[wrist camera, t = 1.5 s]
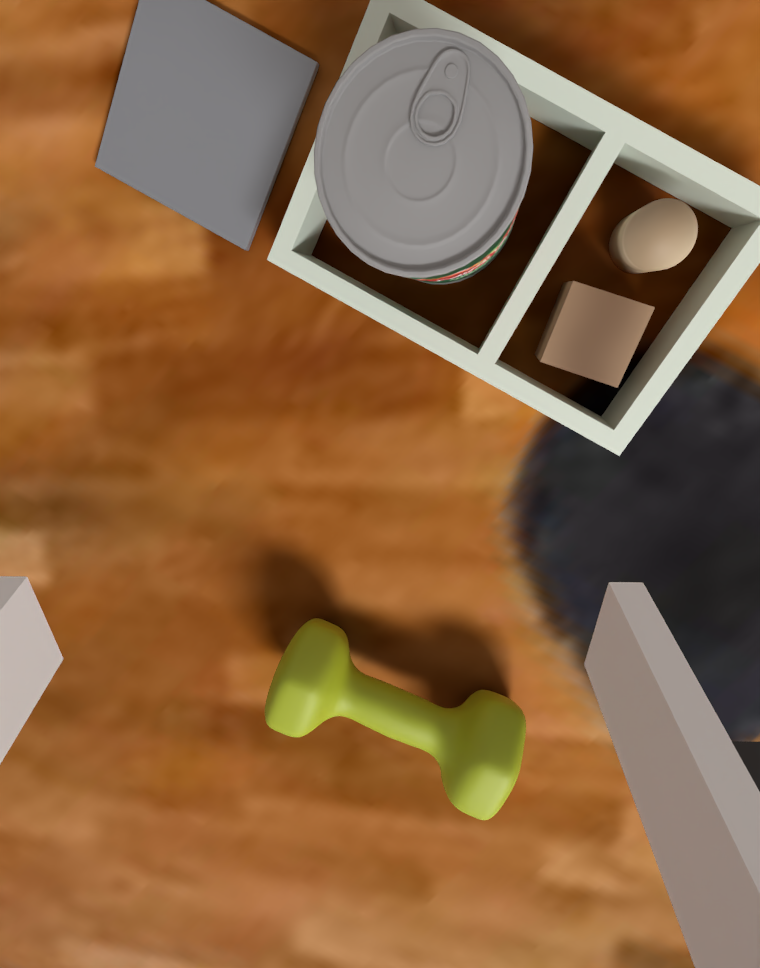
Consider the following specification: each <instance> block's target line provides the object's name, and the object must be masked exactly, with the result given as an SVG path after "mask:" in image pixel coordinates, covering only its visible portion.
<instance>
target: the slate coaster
mask: <svg viewBox="0 0 760 968" xmlns="http://www.w3.org/2000/svg"><path fill="white" fill-rule="evenodd" d="M319 66H320V65H319V64H318V62H316V61H314V60H312V59H311V58H309V57H307V56H305V55H303V54H302V53H300V52H298V51H296V50H294V49H292V48H291V47H289V46H287V45H285V44H283V43H282V42H280V41H278V40H276V39H274V38H273V37H271V36H269V35H267V34H265V33H264V32H262V31H260V30H258V29H256V28H255V27H253V26H251V25H249V24H247V23H246V22H244V21H242V20H240V19H238V18H237V17H235V16H233V15H231V14H229V13H228V12H226V11H224V10H222V9H220V8H218V7H217V6H215V5H213V4H211V3H209V2H208V1H206V0H139V3H138V7H137V10H136V14H135V18H134V22H133V25H132V29H131V33H130V37H129V40H128V44H127V48H126V52H125V55H124V59H123V63H122V67H121V70H120V74H119V78H118V82H117V85H116V89H115V93H114V97H113V100H112V104H111V108H110V112H109V115H108V119H107V123H106V127H105V130H104V134H103V138H102V142H101V145H100V149H99V153H98V157H97V160H96V164H95V167H97V168H99V169H101V170H102V171H104V172H106V173H108V174H110V175H111V176H113V177H115V178H117V179H119V180H120V181H122V182H124V183H126V184H128V185H129V186H131V187H133V188H135V189H137V190H138V191H140V192H142V193H144V194H145V195H147V196H149V197H151V198H153V199H154V200H156V201H158V202H160V203H162V204H163V205H165V206H167V207H169V208H171V209H172V210H174V211H176V212H178V213H180V214H181V215H183V216H185V217H187V218H189V219H190V220H192V221H194V222H196V223H198V224H199V225H201V226H203V227H205V228H207V229H208V230H210V231H212V232H214V233H216V234H217V235H219V236H221V237H223V238H225V239H226V240H228V241H230V242H232V243H233V244H235V245H237V246H239V247H241V248H242V249H244V250H247V251H249V248H250V246H251V243H252V240H253V238H254V235H255V233H256V230H257V227H258V225H259V222H260V220H261V217H262V214H263V212H264V209H265V206H266V204H267V201H268V199H269V196H270V193H271V191H272V188H273V186H274V183H275V180H276V178H277V175H278V173H279V170H280V167H281V165H282V162H283V159H284V157H285V154H286V152H287V149H288V146H289V144H290V141H291V139H292V136H293V133H294V131H295V128H296V126H297V123H298V120H299V118H300V115H301V113H302V110H303V107H304V105H305V102H306V99H307V97H308V94H309V92H310V89H311V86H312V84H313V81H314V79H315V76H316V73H317V71H318V68H319Z"/></svg>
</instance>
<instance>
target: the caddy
mask: <svg viewBox="0 0 760 968" xmlns="http://www.w3.org/2000/svg"><path fill="white" fill-rule="evenodd" d="M424 28H440V29H445V30H450V31H456V32H460V33H462V34H464V35H466V36H468V37H471V38H473V39H475V40H477V41H479V42H481V43H482V44H483V45H485V46H486V47H487V48H488V49H490V50H491V51H492V52H493V53H495V54H496V55H497V56H498V57H499V58H500V59H501V60H502V62H503V63H504V64H505V65H506V67H507V68H508V69H509V70H510V71H511V73H512V74H513V75H514V77H515V79H516V81H517V83H518V85H519V87H520V89H521V91H522V93H523V95H524V97H525V101H526V105H527V108H528V112H529V116H530V117H532V118H533V119H535V120H537V121H539V122H541V123H542V124H544V125H546V126H548V127H550V128H552V129H553V130H555V131H557V132H559V133H561V134H562V135H564V136H566V137H568V138H570V139H571V140H573V141H575V142H577V143H579V144H580V145H582V146H584V147H586V148H588V149H589V150H591V151H592V152H591V154H590V155H589V157H588V159H587V161H586V162H585V164H584V166H583V168H582V169H581V171H580V173H579V175H578V176H577V178H576V180H575V182H574V183H573V185H572V187H571V189H570V190H569V192H568V194H567V196H566V197H565V199H564V201H563V203H562V204H561V206H560V208H559V210H558V211H557V213H556V215H555V217H554V218H553V220H552V222H551V224H550V225H549V227H548V229H547V231H546V232H545V234H544V236H543V238H542V239H541V241H540V243H539V245H538V246H537V248H536V250H535V252H534V253H533V255H532V257H531V259H530V260H529V262H528V264H527V266H526V267H525V269H524V271H523V273H522V274H521V276H520V278H519V280H518V281H517V283H516V285H515V287H514V288H513V290H512V292H511V293H510V295H509V297H508V299H507V300H506V302H505V304H504V306H503V307H502V309H501V311H500V313H499V314H498V316H497V318H496V320H495V321H494V323H493V325H492V327H491V328H490V330H489V332H488V334H487V335H486V337H485V339H484V341H483V342H482V344H481V346H480V348H477V347H475V346H474V345H472V344H470V343H468V342H466V341H465V340H463V339H461V338H459V337H457V336H456V335H454V334H452V333H450V332H448V331H447V330H445V329H443V328H441V327H439V326H438V325H436V324H434V323H432V322H430V321H429V320H427V319H425V318H423V317H421V316H420V315H418V314H416V313H414V312H412V311H411V310H409V309H407V308H405V307H403V306H402V305H400V304H398V303H396V302H395V301H393V300H391V299H389V298H387V297H386V296H384V295H382V294H380V293H378V292H377V291H375V290H373V289H371V288H369V287H368V286H366V285H364V284H362V283H360V282H359V281H357V280H355V279H353V278H351V277H350V276H348V275H346V274H344V273H342V272H341V271H339V270H337V269H335V268H333V267H332V266H330V265H328V264H326V263H324V262H323V261H321V260H319V259H317V258H315V257H314V256H312V253H313V250H314V248H315V245H316V243H317V241H318V238H319V236H320V234H321V231H322V229H323V227H324V224H325V222H326V220H327V218H326V216H325V213H324V210H323V207H322V205H321V202H320V199H319V197H318V192H317V186H316V181H315V175H314V146H315V141H314V143H313V146H312V148H311V151H310V153H309V156H308V158H307V161H306V163H305V166H304V168H303V171H302V173H301V176H300V178H299V181H298V183H297V186H296V188H295V191H294V194H293V196H292V199H291V201H290V204H289V206H288V209H287V211H286V214H285V216H284V219H283V221H282V224H281V226H280V229H279V231H278V234H277V236H276V239H275V241H274V244H273V246H272V249H271V251H270V254H269V256H268V259H267V260H268V261H270V262H272V263H274V264H276V265H277V266H279V267H281V268H283V269H284V270H286V271H288V272H290V273H292V274H293V275H295V276H297V277H299V278H301V279H302V280H304V281H306V282H308V283H310V284H311V285H313V286H315V287H317V288H319V289H320V290H322V291H324V292H326V293H328V294H329V295H331V296H333V297H335V298H337V299H338V300H340V301H342V302H344V303H346V304H347V305H349V306H351V307H353V308H355V309H356V310H358V311H360V312H362V313H364V314H365V315H367V316H369V317H371V318H372V319H374V320H376V321H378V322H380V323H381V324H383V325H385V326H387V327H389V328H390V329H392V330H394V331H396V332H398V333H399V334H401V335H403V336H405V337H407V338H408V339H410V340H412V341H414V342H416V343H417V344H419V345H421V346H423V347H425V348H426V349H428V350H430V351H432V352H434V353H435V354H437V355H439V356H441V357H443V358H444V359H446V360H448V361H450V362H452V363H453V364H455V365H457V366H459V367H460V368H462V369H464V370H466V371H468V372H469V373H471V374H473V375H475V376H477V377H478V378H480V379H482V380H484V381H486V382H487V383H489V384H491V385H493V386H495V387H496V388H498V389H500V390H502V391H504V392H505V393H507V394H509V395H511V396H513V397H514V398H516V399H518V400H520V401H522V402H523V403H525V404H527V405H529V406H531V407H532V408H534V409H536V410H538V411H540V412H541V413H543V414H545V415H547V416H548V417H550V418H552V419H554V420H556V421H557V422H559V423H561V424H563V425H565V426H566V427H568V428H570V429H572V430H574V431H575V432H577V433H579V434H581V435H583V436H584V437H586V438H588V439H590V440H592V441H593V442H595V443H597V444H599V445H601V446H602V447H604V448H606V449H608V450H610V451H611V452H613V453H615V454H617V455H619V456H620V454H621V453H622V451H623V450H624V449H625V447H626V446H627V445H628V443H629V442H630V440H631V439H632V438H633V436H634V435H635V434H636V432H637V431H638V429H639V428H640V427H641V425H642V424H643V423H644V421H645V420H646V418H647V417H648V416H649V414H650V413H651V412H652V410H653V409H654V407H655V406H656V405H657V403H658V402H659V401H660V399H661V398H662V396H663V395H664V394H665V392H666V391H667V390H668V388H669V387H670V385H671V384H672V383H673V381H674V380H675V379H676V377H677V376H678V374H679V373H680V372H681V370H682V369H683V368H684V366H685V365H686V363H687V362H688V361H689V359H690V358H691V357H692V355H693V354H694V352H695V351H696V350H697V348H698V347H699V346H700V344H701V343H702V341H703V340H704V339H705V337H706V336H707V335H708V333H709V332H710V330H711V329H712V328H713V326H714V325H715V324H716V322H717V321H718V319H719V318H720V317H721V315H722V314H723V313H724V311H725V310H726V308H727V307H728V306H729V304H730V303H731V301H732V300H733V299H734V297H735V296H736V295H737V293H738V292H739V290H740V289H741V288H742V286H743V285H744V284H745V282H746V281H747V279H748V278H749V277H750V275H751V274H752V273H753V271H754V270H755V268H756V267H757V266H758V264H759V263H760V186H759V185H757V184H755V183H753V182H752V181H750V180H748V179H746V178H744V177H743V176H741V175H739V174H737V173H735V172H734V171H732V170H730V169H728V168H726V167H724V166H723V165H721V164H719V163H717V162H715V161H714V160H712V159H710V158H708V157H706V156H705V155H703V154H701V153H699V152H697V151H696V150H694V149H692V148H690V147H688V146H686V145H685V144H683V143H681V142H679V141H677V140H676V139H674V138H672V137H670V136H668V135H667V134H665V133H663V132H661V131H659V130H658V129H656V128H654V127H652V126H650V125H648V124H647V123H645V122H643V121H641V120H639V119H638V118H636V117H634V116H632V115H630V114H629V113H627V112H625V111H623V110H621V109H620V108H618V107H616V106H614V105H612V104H610V103H609V102H607V101H605V100H603V99H601V98H600V97H598V96H596V95H594V94H592V93H591V92H589V91H587V90H585V89H583V88H582V87H580V86H578V85H576V84H574V83H572V82H571V81H569V80H567V79H565V78H563V77H562V76H560V75H558V74H556V73H554V72H553V71H551V70H549V69H547V68H545V67H544V66H542V65H540V64H538V63H536V62H534V61H533V60H531V59H529V58H527V57H525V56H524V55H522V54H520V53H518V52H516V51H515V50H513V49H511V48H509V47H507V46H506V45H504V44H502V43H500V42H498V41H496V40H495V39H493V38H491V37H489V36H487V35H486V34H484V33H482V32H480V31H478V30H477V29H475V28H473V27H471V26H469V25H468V24H466V23H464V22H462V21H460V20H458V19H457V18H455V17H453V16H451V15H449V14H448V13H446V12H444V11H442V10H440V9H439V8H437V7H435V6H433V5H431V4H430V3H428V2H426V1H424V0H370V3H369V5H368V8H367V10H366V13H365V15H364V18H363V20H362V23H361V25H360V28H359V30H358V33H357V35H356V38H355V40H354V43H353V45H352V48H351V50H350V53H349V55H348V58H347V60H346V63H345V65H344V68H343V70H342V73H341V75H340V77H341V76H342V75H343V73H344V72H345V71H346V70H347V68H348V67H349V66H350V65H351V63H352V62H353V61H355V60H356V59H357V58H358V57H359V56H360V55H362V54H363V53H364V52H365V51H366V50H367V49H369V48H370V47H371V46H373V45H375V44H377V43H379V42H380V41H382V40H384V39H386V38H388V37H389V36H391V35H395V34H398V33H402V32H405V31H408V30H412V29H424ZM315 140H316V138H315ZM613 163H615V164H617V165H618V166H620V167H622V168H624V169H626V170H627V171H629V172H631V173H633V174H635V175H636V176H638V177H640V178H642V179H644V180H645V181H647V182H649V183H651V184H653V185H655V186H656V187H658V188H660V189H662V190H664V191H665V192H667V193H669V194H671V195H673V196H674V197H676V198H678V199H680V200H682V201H683V202H685V203H687V204H689V205H691V206H692V207H694V208H696V209H698V210H700V211H702V212H703V213H705V214H707V215H709V216H711V217H712V218H714V219H716V220H718V221H720V222H721V223H723V224H725V225H727V226H729V227H730V228H732V229H731V230H730V231H729V233H728V234H727V236H726V237H725V239H724V240H723V242H722V243H721V244H720V246H719V247H718V249H717V250H716V252H715V253H714V255H713V256H712V257H711V259H710V260H709V262H708V263H707V265H706V266H705V268H704V269H703V270H702V272H701V273H700V275H699V276H698V278H697V279H696V281H695V282H694V283H693V285H692V286H691V288H690V289H689V291H688V292H687V294H686V295H685V296H684V298H683V299H682V301H681V302H680V304H679V305H678V307H677V308H676V309H675V311H674V312H673V314H672V315H671V317H670V318H669V320H668V321H667V322H666V324H665V325H664V327H663V328H662V330H661V331H660V333H659V334H658V335H657V337H656V338H655V340H654V341H653V343H652V344H651V346H650V347H649V348H648V350H647V351H646V353H645V354H644V356H643V357H642V359H641V360H640V361H639V363H638V364H637V366H636V367H635V369H634V370H633V372H632V373H631V374H630V376H629V377H628V379H627V380H626V382H625V383H624V385H623V386H622V387H621V389H620V390H619V392H618V393H617V395H616V396H615V398H614V399H613V400H612V402H611V403H610V405H609V406H608V408H607V409H606V411H605V412H604V413H603V415H602V416H599V415H598V414H596V413H594V412H592V411H590V410H589V409H587V408H585V407H583V406H581V405H580V404H578V403H576V402H574V401H572V400H571V399H569V398H567V397H565V396H563V395H562V394H560V393H558V392H556V391H554V390H553V389H551V388H549V387H547V386H545V385H544V384H542V383H540V382H538V381H536V380H535V379H533V378H531V377H529V376H527V375H526V374H524V373H522V372H520V371H519V370H517V369H515V368H513V367H511V366H510V365H508V364H506V363H504V362H502V361H501V360H499V359H498V358H499V356H500V354H501V353H502V351H503V349H504V348H505V346H506V344H507V342H508V341H509V339H510V337H511V336H512V334H513V332H514V331H515V329H516V327H517V326H518V324H519V322H520V320H521V319H522V317H523V315H524V314H525V312H526V310H527V309H528V307H529V305H530V304H531V302H532V300H533V298H534V297H535V295H536V293H537V292H538V290H539V288H540V287H541V285H542V283H543V281H544V280H545V278H546V276H547V275H548V273H549V271H550V270H551V268H552V266H553V265H554V263H555V261H556V259H557V258H558V256H559V254H560V253H561V251H562V249H563V248H564V246H565V244H566V243H567V241H568V239H569V237H570V236H571V234H572V232H573V231H574V229H575V227H576V226H577V224H578V222H579V220H580V219H581V217H582V215H583V214H584V212H585V210H586V209H587V207H588V205H589V204H590V202H591V200H592V198H593V197H594V195H595V193H596V192H597V190H598V188H599V187H600V185H601V183H602V182H603V180H604V178H605V176H606V175H607V173H608V171H609V170H610V168H611V166H612V165H613Z"/></svg>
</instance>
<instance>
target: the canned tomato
mask: <svg viewBox="0 0 760 968" xmlns="http://www.w3.org/2000/svg"><path fill="white" fill-rule="evenodd" d="M532 155H533V138H532V125H531V119H530V116H529V112H528V108H527V105H526V101H525V97H524V95H523V93H522V91H521V89H520V87H519V85H518V83H517V81H516V79H515V77H514V75H513V74H512V73H511V71H510V70H509V69H508V68H507V67H506V65H505V64H504V63H503V62H502V60H501V59H500V58H499V57H498V56H497V55H496V54H495V53H493V52H492V51H491V50H490V49H488V48H487V47H486V46H485V45H483V44H482V43H481V42H479V41H477V40H475V39H473V38H471V37H468V36H466V35H464V34H462V33H460V32H456V31H450V30H445V29H440V28H424V29H412V30H408V31H405V32H402V33H398V34H395V35H391V36H389V37H388V38H386V39H384V40H382V41H380V42H379V43H377V44H375V45H373V46H371V47H370V48H369V49H367V50H366V51H365V52H364V53H363V54H362V55H360V56H359V57H358V58H357V59H356V60H355V61H353V62H352V63H351V65H350V66H349V67H348V68H347V70H346V71H345V72H344V73H343V75H342V76H341V77H340V78H339V80H338V81H337V82H336V84H335V86H334V88H333V90H332V92H331V94H330V95H329V97H328V99H327V101H326V103H325V106H324V109H323V112H322V115H321V118H320V121H319V124H318V127H317V134H316V140H315V146H314V175H315V181H316V186H317V192H318V197H319V199H320V202H321V205H322V207H323V210H324V213H325V216H326V218H327V220H328V221H329V223H330V225H331V226H332V228H333V230H334V231H335V233H336V235H337V236H338V237H339V239H340V240H341V241H342V242H343V243H344V244H345V245H346V246H347V248H348V249H349V250H350V251H351V252H352V253H353V254H355V255H356V256H357V257H359V258H360V259H361V260H363V261H364V262H365V263H367V264H368V265H370V266H372V267H375V268H377V269H379V270H381V271H383V272H385V273H389V274H393V275H397V276H401V277H407V278H410V279H414V280H416V281H419V282H424V283H428V284H444V285H445V284H450V283H456V282H460V281H462V280H465V279H467V278H470V277H472V276H474V275H475V274H477V273H478V272H480V271H481V270H483V269H484V268H486V267H487V266H488V265H489V264H490V263H491V262H492V261H493V260H494V259H495V258H496V257H497V255H498V254H499V252H500V251H501V250H502V248H503V247H504V246H505V244H506V242H507V240H508V238H509V235H510V233H511V231H512V228H513V225H514V221H515V218H516V215H517V213H518V210H519V207H520V204H521V202H522V200H523V198H524V195H525V191H526V188H527V184H528V181H529V177H530V173H531V165H532Z"/></svg>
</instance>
